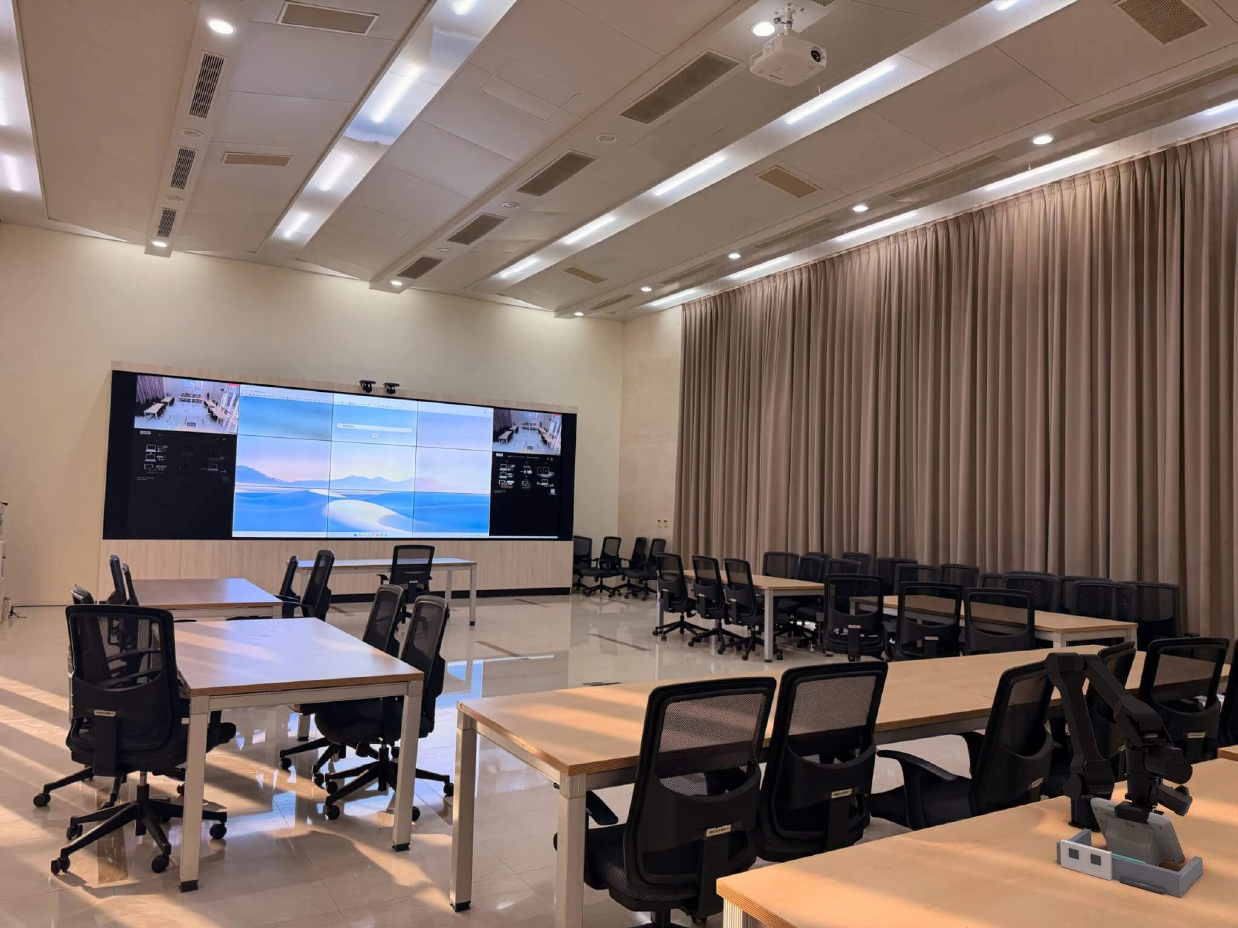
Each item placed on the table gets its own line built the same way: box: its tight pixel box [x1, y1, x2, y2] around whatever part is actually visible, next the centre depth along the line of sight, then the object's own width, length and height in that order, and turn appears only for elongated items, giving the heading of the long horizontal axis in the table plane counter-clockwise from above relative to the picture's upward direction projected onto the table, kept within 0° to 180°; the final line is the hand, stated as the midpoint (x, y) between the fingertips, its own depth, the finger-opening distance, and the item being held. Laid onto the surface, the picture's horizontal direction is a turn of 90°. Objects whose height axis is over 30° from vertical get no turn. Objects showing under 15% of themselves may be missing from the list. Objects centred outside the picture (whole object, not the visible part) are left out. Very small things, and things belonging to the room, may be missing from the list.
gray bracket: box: [1056, 828, 1204, 898], centre depth 168 cm, size 21×18×5 cm
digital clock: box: [1091, 798, 1186, 867], centre depth 173 cm, size 16×9×11 cm, turn 20°
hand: (1145, 846), depth 175 cm, fingers closed, pressing on digital clock
